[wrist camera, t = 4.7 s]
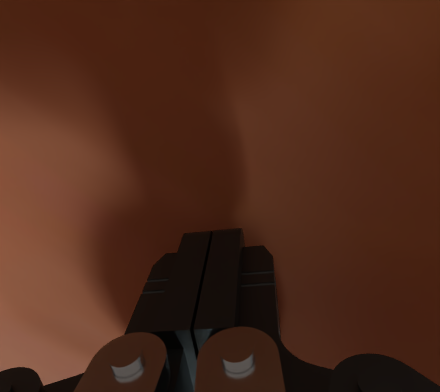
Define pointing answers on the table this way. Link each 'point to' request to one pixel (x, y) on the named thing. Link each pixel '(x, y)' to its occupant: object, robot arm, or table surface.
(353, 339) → the table surface
